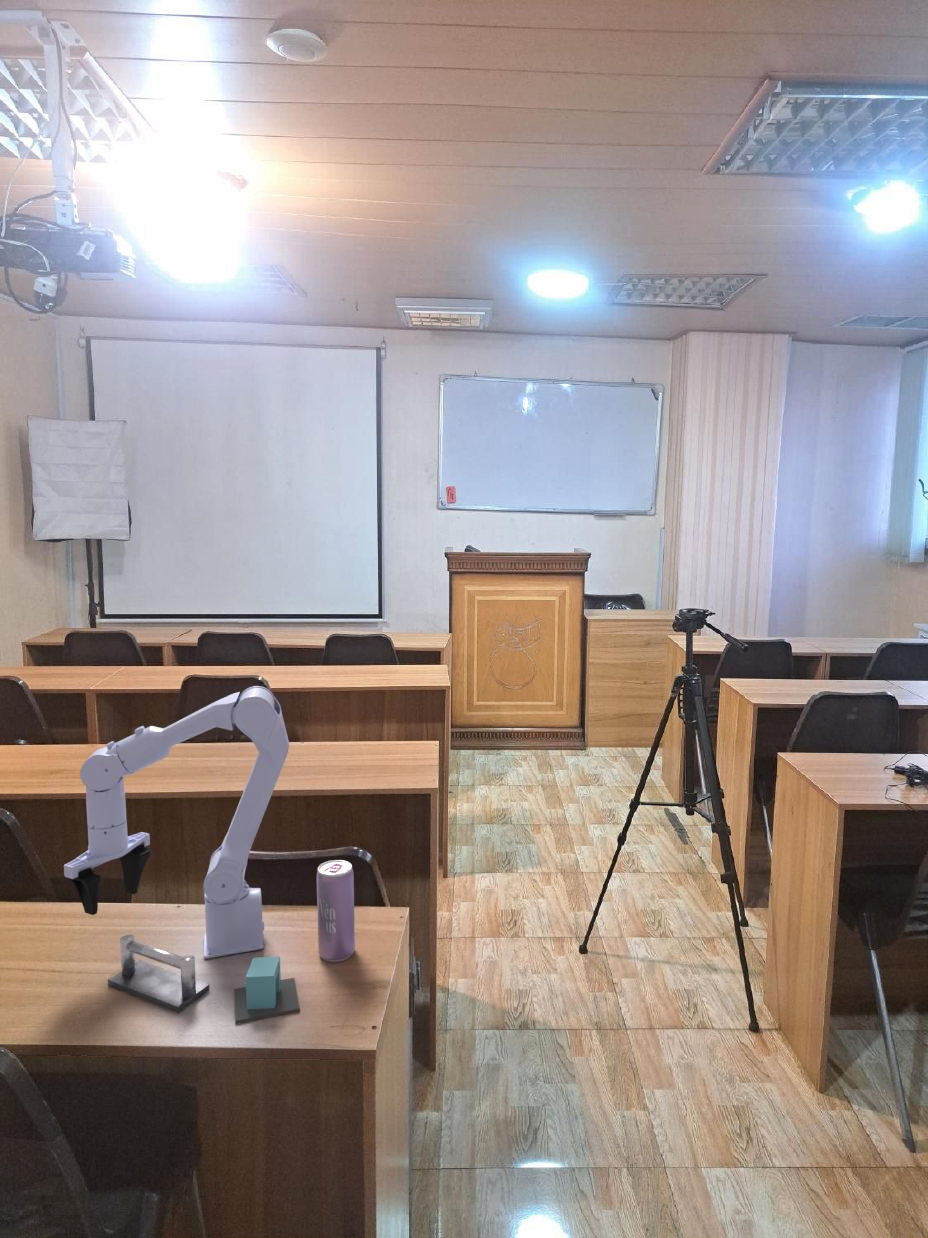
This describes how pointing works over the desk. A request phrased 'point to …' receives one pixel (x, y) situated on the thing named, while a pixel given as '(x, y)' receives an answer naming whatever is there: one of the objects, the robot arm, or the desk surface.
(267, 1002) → the teal block
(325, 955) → the beverage can
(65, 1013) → the desk surface
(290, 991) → the mat
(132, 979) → the stand
